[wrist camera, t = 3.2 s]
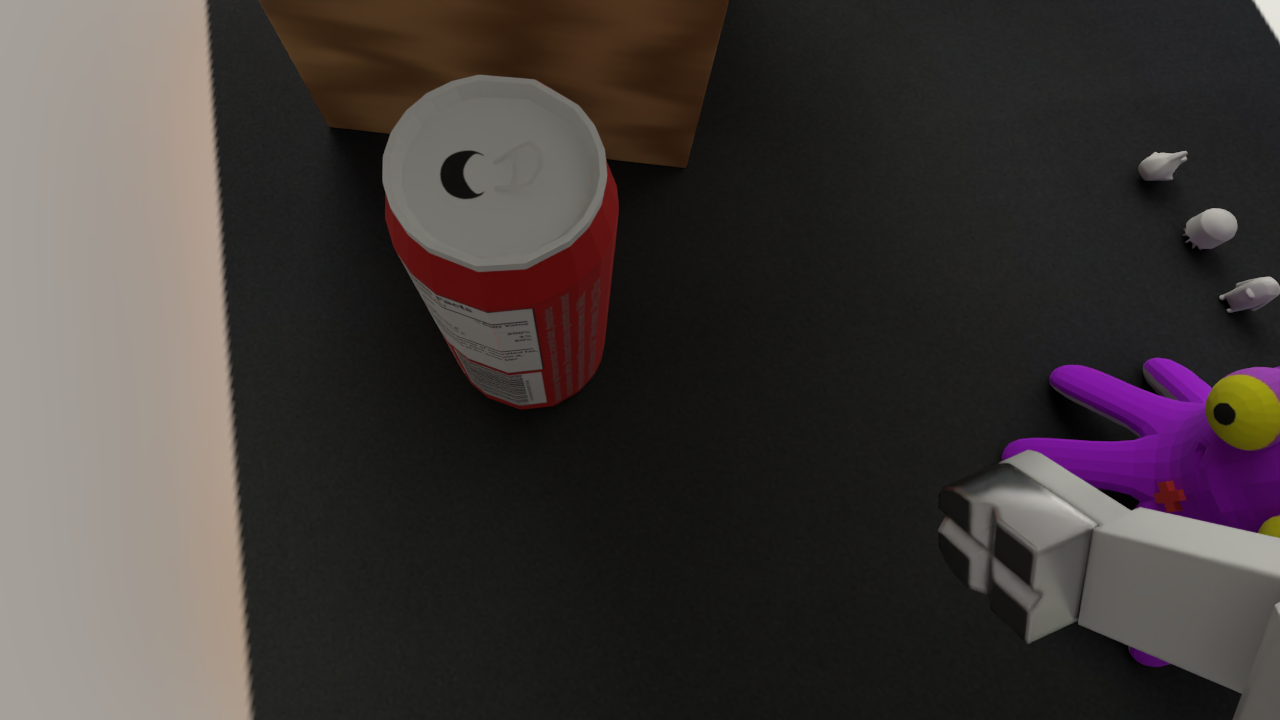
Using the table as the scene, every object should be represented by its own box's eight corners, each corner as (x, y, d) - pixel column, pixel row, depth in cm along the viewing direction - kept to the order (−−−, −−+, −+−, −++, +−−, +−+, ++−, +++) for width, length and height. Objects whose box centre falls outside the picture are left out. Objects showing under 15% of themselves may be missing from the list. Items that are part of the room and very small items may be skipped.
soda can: (598, 273, 27) (612, 52, 16) (609, 406, 26) (633, 266, 14) (457, 280, 27) (365, 56, 15) (459, 417, 25) (358, 280, 14)
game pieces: (1123, 166, 31) (1157, 140, 29) (1161, 156, 31) (1197, 129, 30) (1217, 323, 29) (1261, 306, 27) (1257, 311, 29) (1302, 292, 27)
